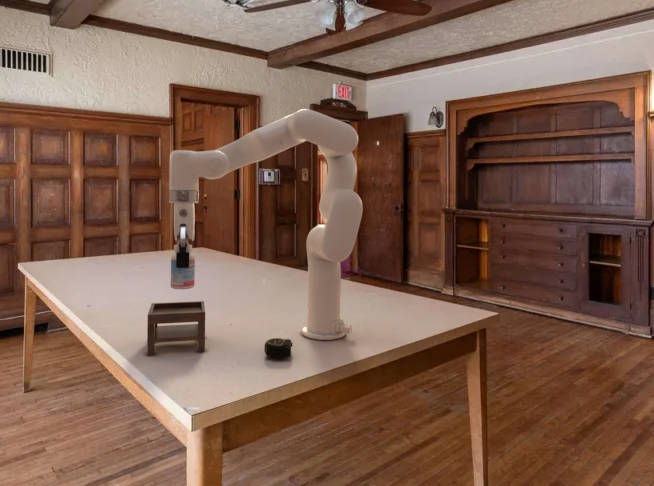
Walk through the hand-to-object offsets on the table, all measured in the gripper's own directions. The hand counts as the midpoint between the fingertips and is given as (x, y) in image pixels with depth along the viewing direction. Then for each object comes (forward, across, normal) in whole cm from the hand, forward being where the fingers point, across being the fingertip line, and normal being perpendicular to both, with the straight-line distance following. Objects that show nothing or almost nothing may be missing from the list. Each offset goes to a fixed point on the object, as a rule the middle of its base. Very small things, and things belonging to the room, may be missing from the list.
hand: (182, 264), depth 123 cm
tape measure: (+22, -13, -24) cm, 35 cm away
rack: (+21, 0, +1) cm, 22 cm away
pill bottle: (+6, 0, 0) cm, 6 cm away
